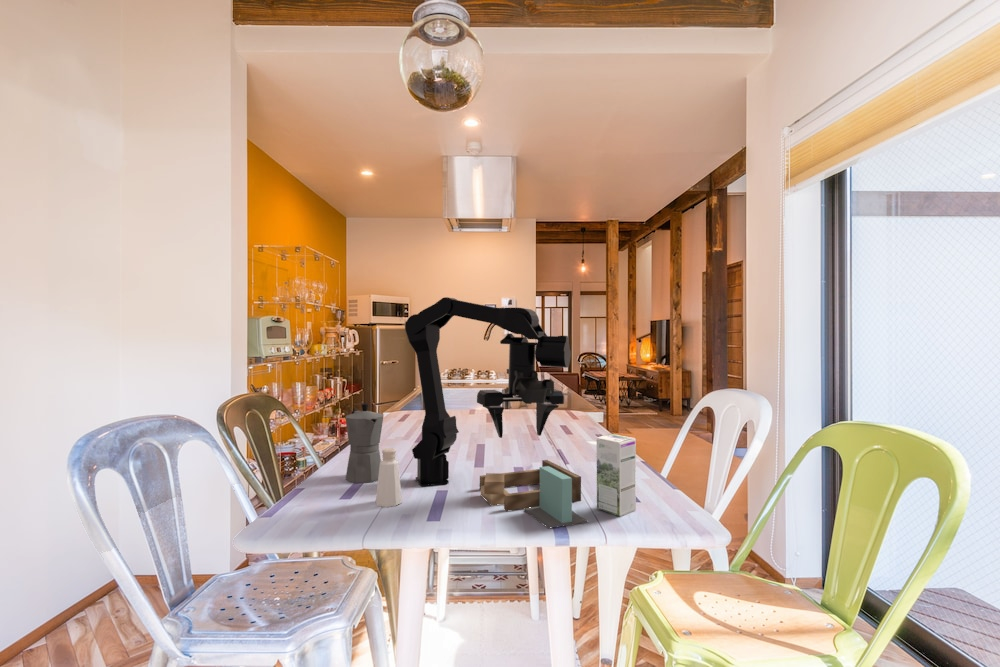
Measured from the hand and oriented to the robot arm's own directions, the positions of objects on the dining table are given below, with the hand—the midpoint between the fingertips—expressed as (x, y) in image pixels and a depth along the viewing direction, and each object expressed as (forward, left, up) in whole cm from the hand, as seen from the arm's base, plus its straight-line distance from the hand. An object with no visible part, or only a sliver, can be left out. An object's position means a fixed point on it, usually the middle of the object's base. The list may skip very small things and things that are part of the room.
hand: (520, 436), depth 109 cm
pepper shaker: (-28, +4, -13) cm, 31 cm away
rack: (+1, -2, -12) cm, 13 cm away
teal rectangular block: (0, -15, -12) cm, 20 cm away
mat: (0, -15, -12) cm, 20 cm away
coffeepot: (-30, +26, -13) cm, 41 cm away
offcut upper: (-7, -2, -10) cm, 12 cm away
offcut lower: (-7, -2, -13) cm, 15 cm away
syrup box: (+13, -17, -13) cm, 25 cm away
